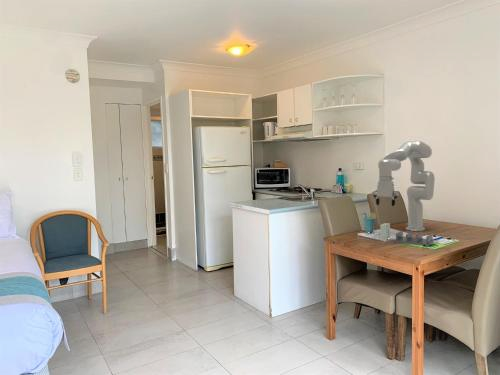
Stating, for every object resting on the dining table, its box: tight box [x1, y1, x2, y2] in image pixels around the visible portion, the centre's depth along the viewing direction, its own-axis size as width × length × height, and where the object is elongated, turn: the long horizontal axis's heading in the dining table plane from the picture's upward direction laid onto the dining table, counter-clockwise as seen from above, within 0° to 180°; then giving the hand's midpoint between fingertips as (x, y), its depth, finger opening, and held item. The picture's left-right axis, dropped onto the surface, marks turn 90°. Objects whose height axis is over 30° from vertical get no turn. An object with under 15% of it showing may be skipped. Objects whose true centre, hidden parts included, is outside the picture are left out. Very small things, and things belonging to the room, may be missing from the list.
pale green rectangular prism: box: [379, 222, 391, 242], centre depth 253 cm, size 8×4×10 cm, turn 142°
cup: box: [360, 212, 377, 233], centre depth 275 cm, size 14×8×15 cm, turn 121°
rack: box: [394, 230, 435, 247], centre depth 243 cm, size 13×20×6 cm, turn 52°
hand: (385, 205), depth 252 cm, fingers open, 9 cm apart
